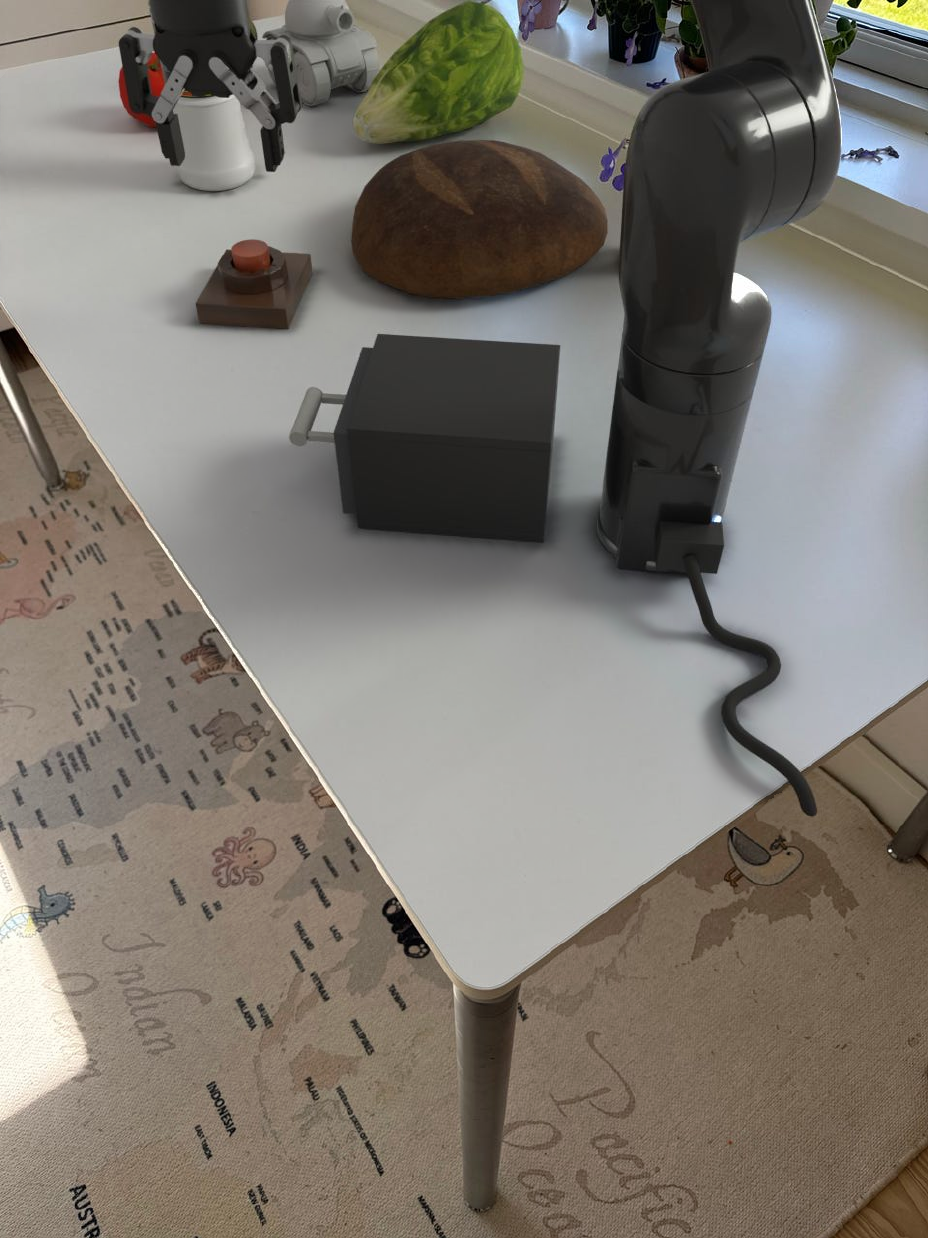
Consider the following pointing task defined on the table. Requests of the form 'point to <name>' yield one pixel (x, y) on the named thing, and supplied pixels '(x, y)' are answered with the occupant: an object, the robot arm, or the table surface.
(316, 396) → the drawer
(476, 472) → the cabinet
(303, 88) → the toy tank
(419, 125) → the lettuce
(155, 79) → the red bell pepper
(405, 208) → the bread
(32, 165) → the table surface
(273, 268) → the brown button base
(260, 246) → the button
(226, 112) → the vodka
